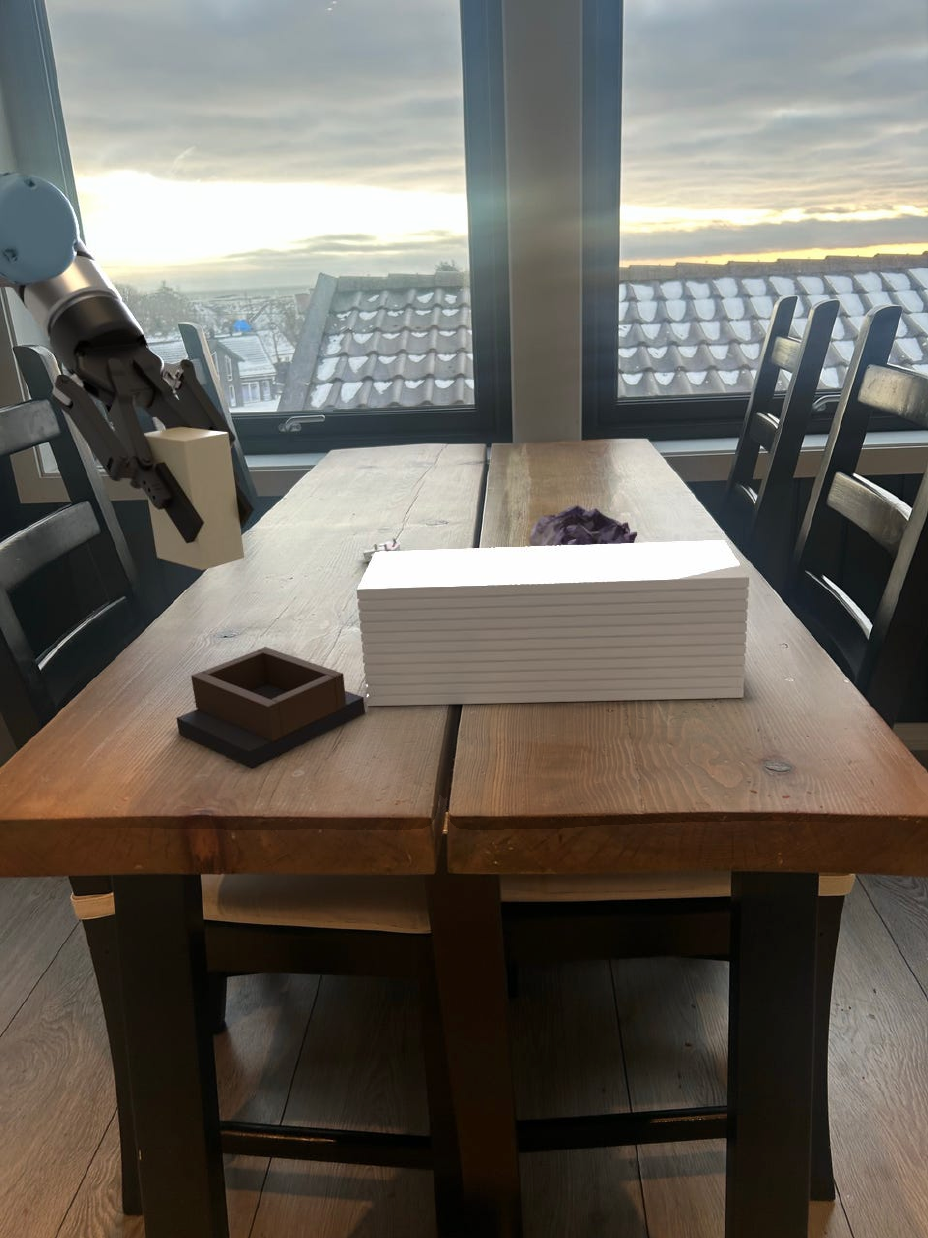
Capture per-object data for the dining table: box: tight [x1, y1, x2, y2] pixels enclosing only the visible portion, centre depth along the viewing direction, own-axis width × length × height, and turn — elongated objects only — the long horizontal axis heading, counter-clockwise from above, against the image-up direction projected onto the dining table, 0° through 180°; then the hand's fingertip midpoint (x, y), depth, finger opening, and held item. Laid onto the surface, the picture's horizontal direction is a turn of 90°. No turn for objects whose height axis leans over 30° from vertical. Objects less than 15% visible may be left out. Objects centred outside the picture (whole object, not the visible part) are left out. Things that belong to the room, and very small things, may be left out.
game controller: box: [362, 537, 423, 562], centre depth 127 cm, size 6×12×3 cm, turn 101°
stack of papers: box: [356, 539, 750, 707], centre depth 89 cm, size 32×11×11 cm, turn 87°
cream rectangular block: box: [143, 427, 245, 571], centre depth 87 cm, size 4×7×11 cm, turn 49°
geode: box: [528, 505, 638, 547], centre depth 110 cm, size 20×12×10 cm, turn 9°
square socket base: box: [176, 646, 366, 769], centre depth 84 cm, size 12×10×4 cm
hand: (220, 525), depth 85 cm, fingers closed on cream rectangular block, 4 cm apart
